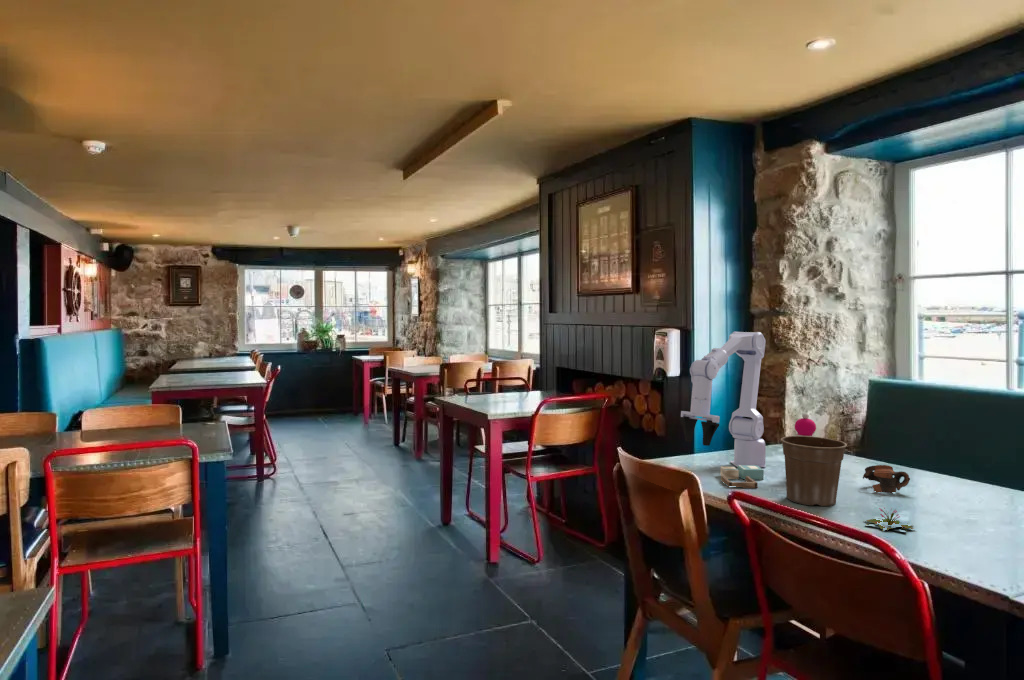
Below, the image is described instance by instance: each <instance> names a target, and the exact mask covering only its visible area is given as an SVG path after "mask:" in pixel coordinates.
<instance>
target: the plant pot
mask: <svg viewBox="0 0 1024 680" xmlns="http://www.w3.org/2000/svg"><path fill="white" fill-rule="evenodd" d="M780 442H781V443H782V453H783V455H784V466H785V467H784V468H785V471H784V472H785V487H786V498H787V499H788V501H789V500H790V501H791V502H794V503H795V504H796V503H797V504H800V505H804V506H805V505H806V506H815V505H818V506H819V507H831V506H834V505H835V504H836V503H837V496H838V489H839V482H840V477H841V476H840V474H841V467H842V461H843V460H844V456H845V449H846V448H847V446H848V444H847V443H846V442H844V441H841V440H837V439H832V438H828V437H819V436H814V437H810V436H797V435H791V436H790V435H789V436H784V437H781V438H780Z"/></svg>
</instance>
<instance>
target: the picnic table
mask: <svg viewBox="0 0 1024 680" xmlns="http://www.w3.org/2000/svg"><path fill="white" fill-rule="evenodd" d="M721 480H722V481H723V482H724V483H725V484H727V485H728V486H736V487H743V488H742V489H758V488H759V487H758V484H759V483H758V481H756V480H753V479H751V478H750V477H749V476H746V479H745V480H744V481H731V480H728V479H727V478H726V477H724V476H720V481H721ZM722 481H721V482H722ZM723 482H722V483H723ZM724 483H723V484H724ZM725 484H724V485H725ZM728 486H727V487H728Z"/></svg>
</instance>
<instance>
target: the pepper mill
mask: <svg viewBox="0 0 1024 680" xmlns="http://www.w3.org/2000/svg"><path fill="white" fill-rule="evenodd" d="M794 423H795V424H794V431H795V432H796V434H795V436H810V437H815V435H814V433H815V432H816V431H817V425H816V423H815V421H814V420H812V419H810V417H809V414H808V413H806V412H804V413H803V414H802V418H799V419H797V420H796V421H795V422H794Z"/></svg>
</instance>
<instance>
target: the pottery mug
mask: <svg viewBox="0 0 1024 680" xmlns="http://www.w3.org/2000/svg"><path fill="white" fill-rule="evenodd" d="M902 477H903V480H902V482H900V481H901V479H902ZM862 479H863V480H864V479H866V480H868V481H874V482H877V484H873V485H872V488H873V492H874V491H876V492H880V493H887V494H893V493H892V492H897V491H900V490H901V489H902V488H904V487H907V486H908V485H909V482H910V480H911V478H910V476H909V473H907V472H906V471H901V470H900V471H895V470H894V468H893V466H891V465H886V464H879V465H878V464H877V465H870V466H867V467H865V468H864V474H863V475H862Z"/></svg>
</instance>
